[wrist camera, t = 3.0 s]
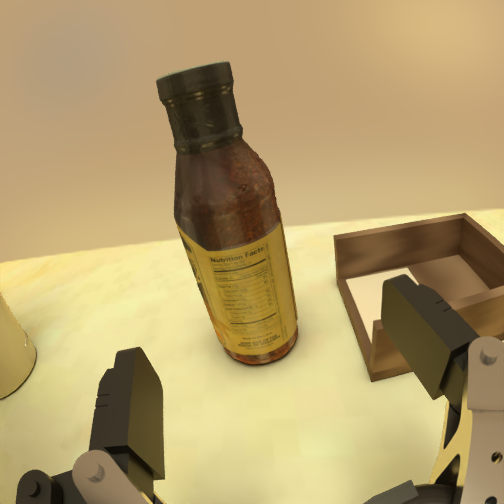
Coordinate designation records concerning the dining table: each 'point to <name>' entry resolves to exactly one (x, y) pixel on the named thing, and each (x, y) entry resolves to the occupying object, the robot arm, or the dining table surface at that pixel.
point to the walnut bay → (420, 279)
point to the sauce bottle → (229, 217)
